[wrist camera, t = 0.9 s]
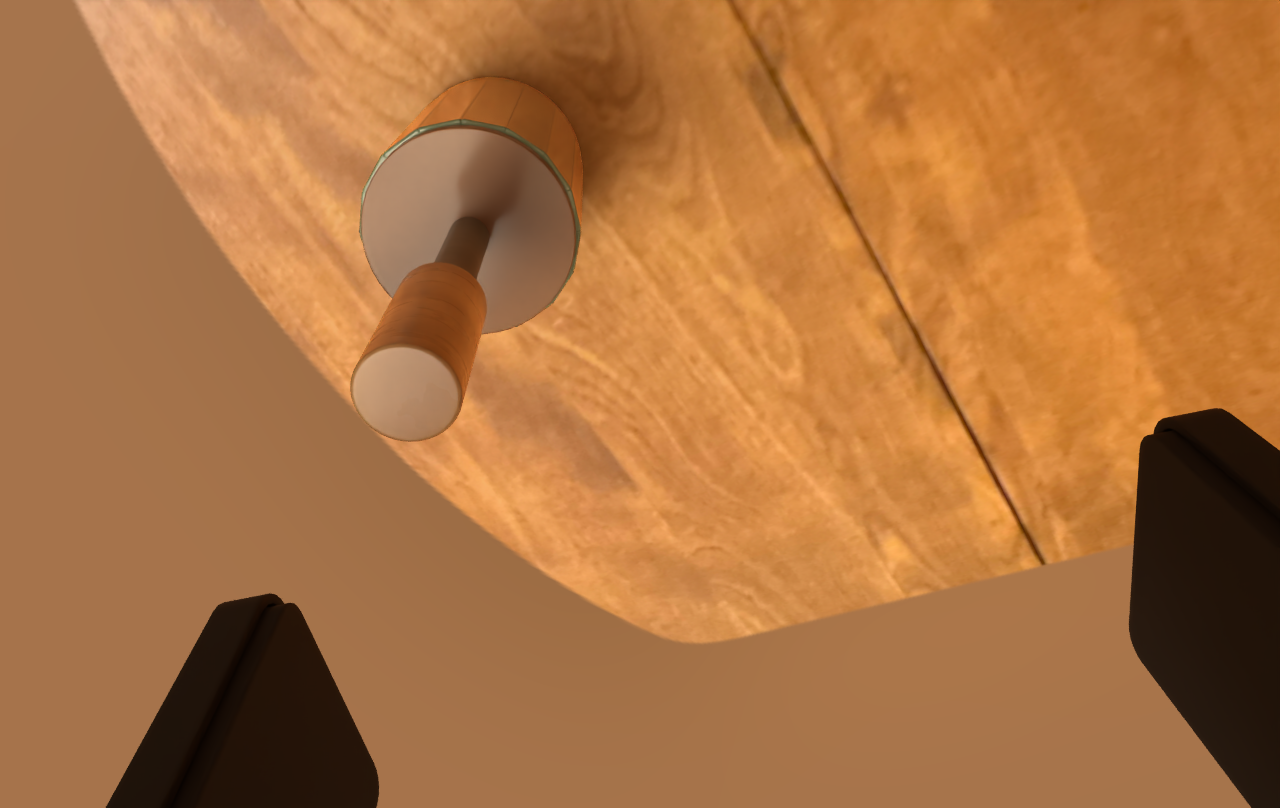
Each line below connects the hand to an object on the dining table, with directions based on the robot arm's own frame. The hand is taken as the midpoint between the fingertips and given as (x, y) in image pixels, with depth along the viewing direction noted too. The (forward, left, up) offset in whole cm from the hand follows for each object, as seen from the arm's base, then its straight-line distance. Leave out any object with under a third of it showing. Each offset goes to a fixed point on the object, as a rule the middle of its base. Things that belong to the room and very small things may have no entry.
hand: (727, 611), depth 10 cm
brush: (-3, -4, -28) cm, 28 cm away
